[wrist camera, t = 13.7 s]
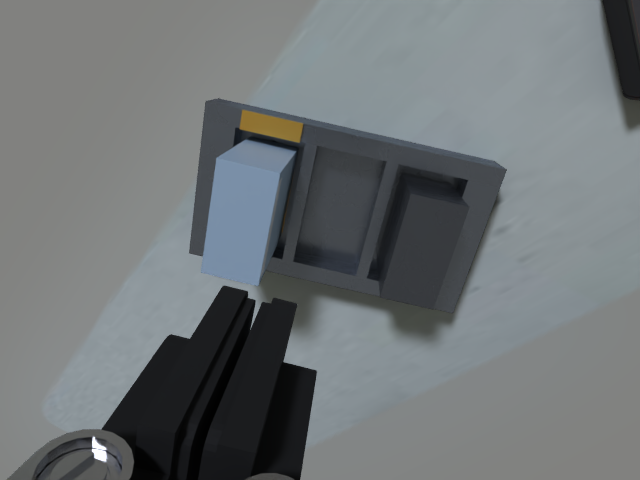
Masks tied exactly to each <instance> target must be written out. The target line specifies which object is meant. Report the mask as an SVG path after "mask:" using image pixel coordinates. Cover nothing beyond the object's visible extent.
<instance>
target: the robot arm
mask: <svg viewBox="0 0 640 480" xmlns="http://www.w3.org/2000/svg"><path fill="white" fill-rule="evenodd" d="M296 307H297V304H296V303H292V302H288V301H284V300H280V299H276V298H273V300H272V303H271V304H269V303H265V302H262V304H261V306H260V309H259V311H258V314H257V316H256V318H255V321H254V323H253V325H252V328H251V323H252V318H253V313H254V308H255V300H253V299H249V298H248V291H244V290H240V289H236V288H232V287H228V286H223V287H222V288H221V290H220V291H219V293H218V295H217V296H216V298H215V299H214V301H213V303H212V304H211V306H210V307H209V309H208V311H207V312H206V314H205V316H204V317H203V319H202V320H201V322H200V324H199V325H198V327H197V328H196V330H195V332H194V333H193V335H192V337H191V338H190V339H188V338H184V337H180V336H176V335H172V334H171V335H169V336H168V337H167V338H166V339H165V340H164V342H163V343H162V344H161V346H160V347H159V349H158V350H157V352H156V353H155V354H154V356H153V357H152V359H151V360H150V361H149V363H148V364H147V366H146V367H145V369H144V370H143V371H142V373H141V374H140V376H139V377H138V378H137V380H136V381H135V383H134V384H133V386H132V387H131V388H130V390H129V391H128V393H127V394H126V395H125V397H124V398H123V400H122V401H121V403H120V404H119V405H118V407H117V408H116V410H115V411H114V412H113V414H112V415H111V417H110V418H109V420H108V421H107V422H106V424H105V425H104V427H103V428H102V429H101V430H100V429H83V430H79V431H74V432H70V433H66V434H64V435H62V436H60V437H58V438H56V439H53V440H51V441H49V442H48V443H47V444H45V445H44V446H43V447H42V448H40V449H39V450H38V451H36V452H35V453H34V454H33V455H32V456H31V457H30V458H29V459H28V460H27V461H26V462H24V463H23V465H21V466H20V467H19V468H18V469H17V470H16V471H15V472H14V473H13V474H12V475H11V476H10V477H9V478H8V479H7V480H300V477H301V470H302V464H303V457H304V451H305V445H306V438H307V432H308V426H309V419H310V413H311V406H312V400H313V394H314V387H315V381H316V374H317V371H316V370H312V369H308V368H304V367H300V366H296V365H292V364H288V363H284V362H283V361H284V357H285V353H286V348H287V344H288V340H289V336H290V332H291V328H292V324H293V319H294V315H295V311H296ZM250 328H251V330H250Z"/></svg>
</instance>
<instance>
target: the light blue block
mask: <svg viewBox="0 0 640 480" xmlns="http://www.w3.org/2000/svg"><path fill="white" fill-rule="evenodd" d="M298 150H299V148H296V147H292V146H288V145H284V144H280V143H276V142H271V141H267V140H263V139H259V138H255V137H251V136H250V137H249V138H247V139H246V140H244V141H242V142H241V143H239V144H238V145H236V146H234V147H233V148H231V149H230V150H228V151H227V152H225V153H223V154H222V155H220V156H219V157H217V158H216V165H215V173H214V180H213V187H212V195H211V202H210V209H209V217H208V224H207V231H206V239H205V246H204V253H203V260H202V268H201V273H205V274H209V275H214V276H218V277H222V278H226V279H230V280H234V281H239V282H243V283H247V284H251V285H255V286H259V283H260V281H261V279H262V277H263V275H264V273H265V270H266V268H267V266H268V264H269V262H270V259H271V257H272V255H273V253H274V251H275V249H276V246H277V244H278V242H279V240H280V237H281V232H282V227H283V222H284V218H285V213H286V208H287V203H288V198H289V193H290V188H291V184H292V179H293V174H294V169H295V164H296V159H297V154H298Z"/></svg>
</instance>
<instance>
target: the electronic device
mask: <svg viewBox="0 0 640 480" xmlns="http://www.w3.org/2000/svg"><path fill="white" fill-rule="evenodd" d="M603 4H604V8H605V13H606V18H607V22H608V27H609V31H610V36H611V40H612V45H613V50H614V54H615V59H616V63H617V68H618V73H619V77H620V82H621V86H622V90H623V95H624V96H625V97H626V98H628V99H632V100H639V101H640V0H603Z"/></svg>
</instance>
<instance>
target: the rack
mask: <svg viewBox="0 0 640 480" xmlns="http://www.w3.org/2000/svg"><path fill="white" fill-rule="evenodd" d="M250 136H251V137H255V138H259V139H263V140H267V141H271V142H276V143H280V144H284V145H288V146H292V147H296V148H299V150H298V154H297V159H296V164H295V169H294V174H293V179H292V184H291V188H290V193H289V198H288V203H287V208H286V213H285V218H284V222H283V227H282V232H281V237H280V240H279V242H278V244H277V246H276V249H275V251H274V253H273V255H272V257H271V259H270V262H269V264H268V266H267V268H266V270H265V271H269V272H274V273H278V274H283V275H287V276H291V277H296V278H300V279H305V280H309V281H313V282H318V283H322V284H327V285H331V286H335V287H340V288H344V289H349V290H353V291H357V292H362V293H366V294H371V295H375V296H380V297H381V298H385V299H390V300H394V301H398V302H403V303H407V304H412V305H416V306H420V307H425V308H429V309H437V310H441V311H446V312H450V313H453V312H454V309H455V306H456V304H457V301H458V298H459V296H460V293H461V290H462V288H463V285H464V282H465V280H466V277H467V274H468V272H469V269H470V266H471V264H472V261H473V258H474V256H475V253H476V250H477V248H478V245H479V242H480V240H481V237H482V234H483V232H484V229H485V227H486V224H487V221H488V219H489V216H490V213H491V211H492V208H493V205H494V203H495V200H496V197H497V195H498V192H499V189H500V187H501V184H502V181H503V179H504V176H505V173H506V171H507V169H505V168H504V167H502V166H501V165H499V164H498V163H496V162H495V161H491V160H487V159H482V158H478V157H473V156H469V155H465V154H460V153H456V152H452V151H447V150H443V149H438V148H434V147H430V146H425V145H421V144H416V143H412V142H408V141H403V140H399V139H394V138H390V137H386V136H381V135H377V134H372V133H368V132H364V131H359V130H355V129H350V128H346V127H342V126H337V125H333V124H329V123H324V122H320V121H315V120H311V119H307V118H302V117H298V116H293V115H289V114H285V113H280V112H276V111H271V110H267V109H263V108H258V107H254V106H249V105H245V104H241V103H236V102H232V101H227V100H222V99H219V98H218V99H213V100H209V101H206V103H205V112H204V121H203V131H202V139H201V149H200V158H199V167H198V176H197V185H196V195H195V204H194V213H193V222H192V232H191V241H190V250H189V253H190V254H194V255H199V256H203V253H204V246H205V239H206V231H207V224H208V217H209V209H210V202H211V195H212V187H213V180H214V173H215V165H216V158H217V157H219V156H220V155H222V154H223V153H225V152H227V151H228V150H230V149H231V148H233V147H234V146H236V145H238V144H239V143H241V142H242V141H244V140H246V139H247V138H249V137H250Z"/></svg>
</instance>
